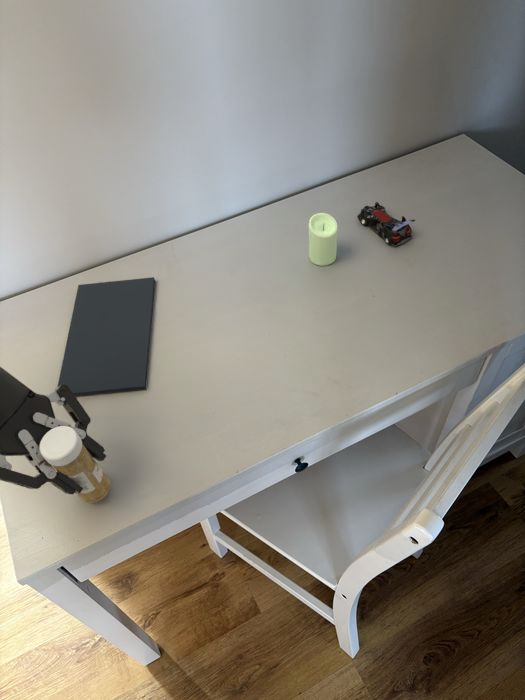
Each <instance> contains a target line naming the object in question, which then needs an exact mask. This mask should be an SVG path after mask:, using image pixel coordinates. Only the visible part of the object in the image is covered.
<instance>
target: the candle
mask: <svg viewBox="0 0 525 700" xmlns="http://www.w3.org/2000/svg"><path fill="white" fill-rule="evenodd" d="M338 228H339V226H338V222H337V221H336V218H334V217H333V216H332V215H331V214H328V213H326V212H318V213H315V214H313V215H312V216H311V217H310V218H309V220H308V259H309V260H310V262H311V263H313V264H314V265H316V266H323V267H324V266H328V265H329V266H330V265H331V264H333V263H334V262H335V261H336V260H337V252H338Z"/></svg>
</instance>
